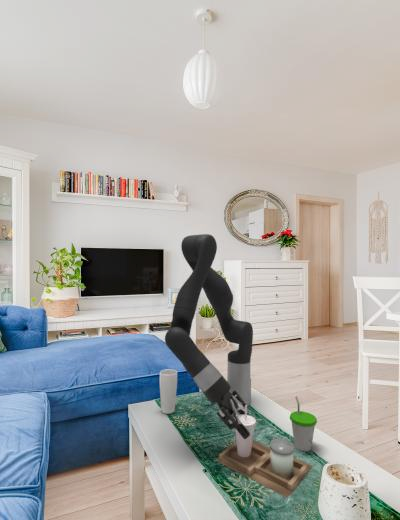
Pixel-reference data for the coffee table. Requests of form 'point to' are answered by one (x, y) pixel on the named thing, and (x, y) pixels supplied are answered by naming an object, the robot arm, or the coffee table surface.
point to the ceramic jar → (281, 458)
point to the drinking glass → (168, 390)
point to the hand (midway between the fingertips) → (250, 430)
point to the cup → (303, 429)
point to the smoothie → (246, 444)
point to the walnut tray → (263, 468)
